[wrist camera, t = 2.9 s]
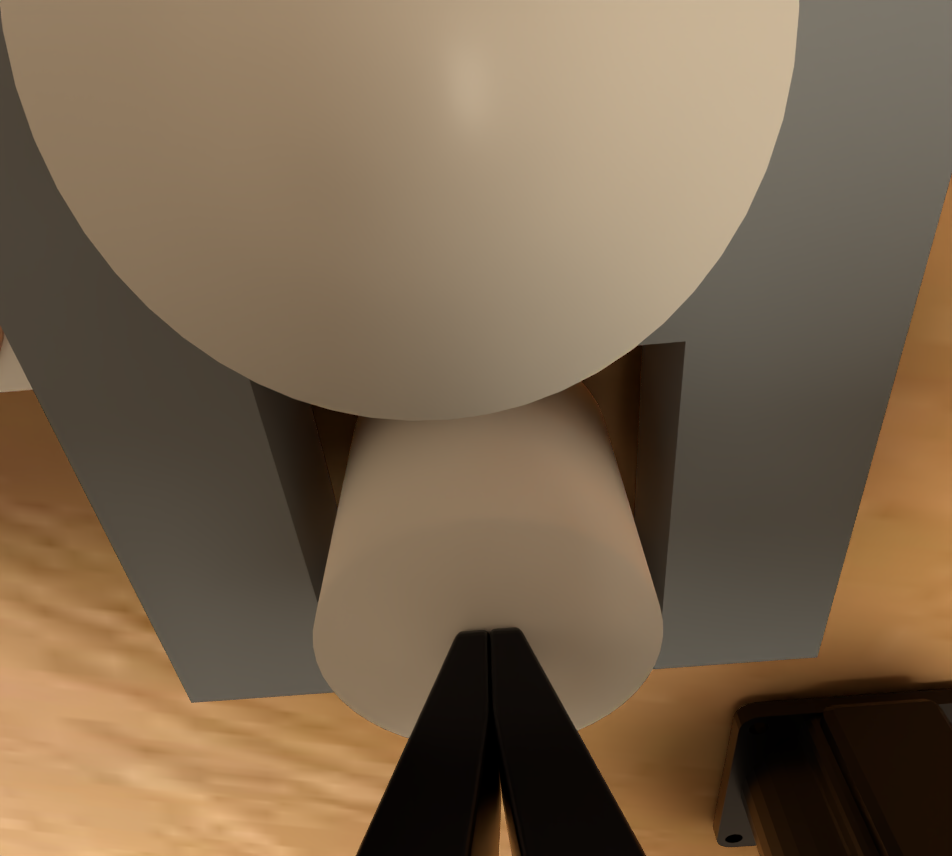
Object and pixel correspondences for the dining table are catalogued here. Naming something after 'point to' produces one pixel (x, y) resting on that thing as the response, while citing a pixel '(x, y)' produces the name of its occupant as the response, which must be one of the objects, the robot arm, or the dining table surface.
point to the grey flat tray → (661, 393)
